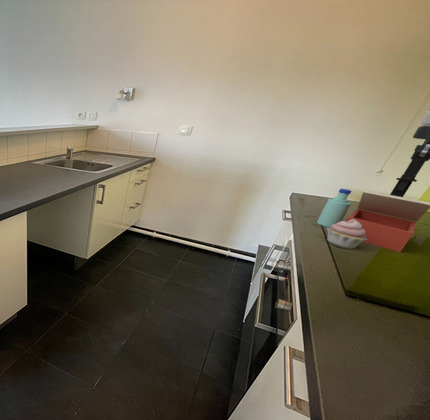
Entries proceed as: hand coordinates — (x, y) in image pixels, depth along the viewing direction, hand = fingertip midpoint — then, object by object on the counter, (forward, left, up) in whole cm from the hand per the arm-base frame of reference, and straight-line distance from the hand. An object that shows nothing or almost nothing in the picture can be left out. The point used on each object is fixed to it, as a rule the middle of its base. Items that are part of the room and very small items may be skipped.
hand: (394, 199), depth 83 cm
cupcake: (+10, +13, -16) cm, 23 cm away
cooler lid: (-1, -3, -3) cm, 5 cm away
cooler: (-1, -2, -16) cm, 16 cm away
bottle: (+10, -6, -16) cm, 20 cm away
